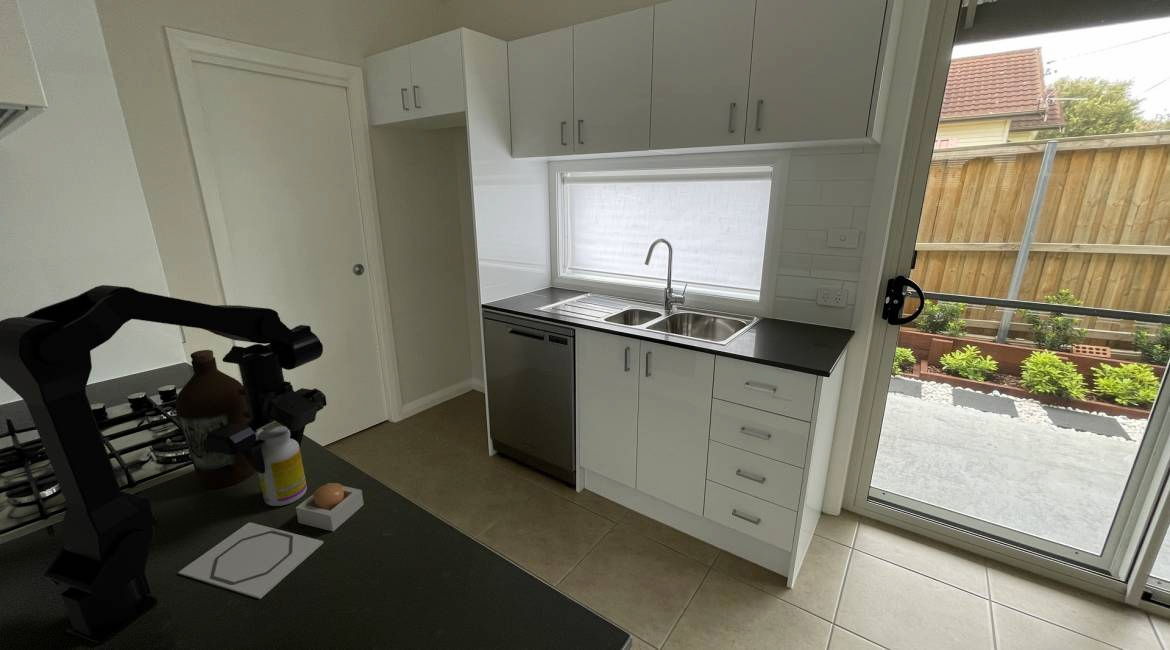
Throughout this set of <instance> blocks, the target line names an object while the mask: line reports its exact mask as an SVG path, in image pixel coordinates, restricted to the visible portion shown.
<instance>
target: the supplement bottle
mask: <svg viewBox="0 0 1170 650" xmlns="http://www.w3.org/2000/svg"><path fill="white" fill-rule="evenodd" d="M257 437H258V439H259V440H264V441H265V443H264V444H263V446H262V447H261V450H262V455H263V459H264V464H265V473H263V474H261V473H258V472H257V474H258V479H259V483H260V487H261V493H262V497H263V500H264V502H265V503H266V505H269V506H271V507H272V506H273V507H280V506H285V505H289V504H292V503H294V502H296V501H297V500H299V499H300V498H302V497H303V496H304V495H305V494H306V492H307V489H308V487H307V486H308V484H307V479H306V476H305V475H306V474H305V470H304V464H303V460H302V454H301V447H300V448H299V444H298V442H297V441H295V440H294V439H290V430H289V429H287V427H285V426H283V425H279V426H273V427H268V428H266V429H263V430H262V431H261V432H259V433H257Z"/></svg>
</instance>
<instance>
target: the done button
mask: <svg viewBox="0 0 1170 650" xmlns="http://www.w3.org/2000/svg"><path fill="white" fill-rule="evenodd" d="M329 483H330V482H329ZM343 486H344V485H342V484H341V483H337V482H331V483H330V484H328V483H327V484H324V485H322V486H320V487H318V488H316V489H315V491H313V494H312V495H314V501H315V507H317V508H321V509H325V510H329V511H331V510H332V509H333V508H334V507H335V506H337V505H338V504H339V503H340V502H342V501H343V500H344V499H345V498H344V491H343Z"/></svg>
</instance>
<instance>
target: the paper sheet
mask: <svg viewBox="0 0 1170 650" xmlns="http://www.w3.org/2000/svg"><path fill="white" fill-rule="evenodd" d="M323 544H324V540H320V539H316V538H312V537H310V536H305V535H300V534H296V533H293V532H289V531H285V530H281V529H278V528H273V527H270V526H265V525H262V524H258V523H254V522H248V523H246V524H245V525H243V526H242V527H240V528H239V529H238V530H236V531H234V533H232V534H230V535H229V536H228V537H226V538H225V539H223V540H222V541H221V542H219V543H217V545H215V546H213V547H212V548H210V549H209V550H208V551H206V552H205V553H204V554H202V555H201V556H199V557H198V558H196V559H195V560H193V561H192V562H190V563H189V564H188V565H187V566H184V567H183V568H182V569H181V570H179V571H178V572H177V573H178V574H179V575H181V576H184V577H188V578H191V579H194V580H198V581H201V582H204V583H207V584H210V585H213V586H216V587H219V588H223V589H227V590H230V591H233V592H236V593H238V594H239V593H240V594H243V595H246V596H248V597H253V598H255V599H259V600H261V599H262V598H263V597H264V596H265V595H267V593H269V592H270V591H271V590H272V589H274V587H275V586H277V585H278V584H279V583H280V582H281V581H282V580H284V579H285V578H286V576H288V575H289V574H290V573H292V571H294V570H296V568H297V567H298V566H299V565H301V563H302V562H304V561H305V560H307V558H308V557H309V556H310V555H311V554H313V553H315V551H316V550H317V549H318V548H320V546H322V545H323Z"/></svg>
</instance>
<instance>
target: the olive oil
mask: <svg viewBox="0 0 1170 650" xmlns="http://www.w3.org/2000/svg"><path fill="white" fill-rule="evenodd" d="M190 358H191V362H190V364H191V366H192V367H191V368H192V369H193V375H192V376H191V377H190V379H189V380H188V381H187V382H186V383H185V384H184V386H183V387H182V388H181V390H180V391H179V393H178V394H177V396H176V399H175V407H174V409H175V413H176V417H177V419H178V422H179V426H180V429H181V431H182V434H183V436H184V440H185V443H186V446H187V449H188V452H189V455H190V459H191V462H192V464H193V469H194V472H195V475H196V478H197V482H198V484H199V486H201V487H203V488H206V489H219V488H226V487H230V486H232V485H236V484H238V483H241V482H243V481H244V480H246V479H249V478H250V477H252V476H253V475H254V474H255V473H256V472H257V471H256V470H255V469H254V468H253V467H252V466H251V465H250V463H249V462H248V461H247V460H246V459H245V458H244V457H243V456H242V455H241V454H239V453H238V454H235V455H227V454H223V453H218V452H213V451H208V450H206V447H205V443H204V438H205V436H206V435H207V433H209V432H211V431H213V430H215V429H217V428H219V427H221V426H223V425H225V424H228V423H231V424H237V425H244V424H246V423H248V422H250V421H251V420H250V418H246V417H244V415H243V411H245V410H247V409H248V406H247V402H246V397H245V396H244V395H239V392H238V389H239V388H242V387H243V383H242V382H240V381H239V380H238V379H236V378H234V377H232V376H230V375H228V374H226V373H224V372H222V371H221V370H220V369H218V366H217V361H216V357H215V356H214V351H213V350H211V349H203V350H196V351H193V352H192V353H190Z"/></svg>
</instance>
